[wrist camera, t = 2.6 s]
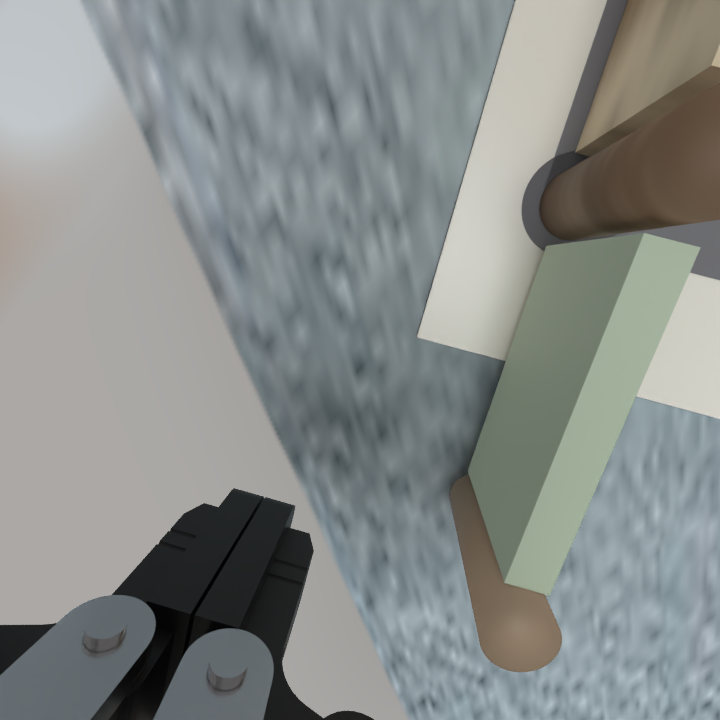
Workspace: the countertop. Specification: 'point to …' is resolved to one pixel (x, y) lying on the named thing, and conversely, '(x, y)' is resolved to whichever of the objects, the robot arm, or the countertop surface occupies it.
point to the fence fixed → (648, 129)
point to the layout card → (523, 194)
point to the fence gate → (558, 428)
